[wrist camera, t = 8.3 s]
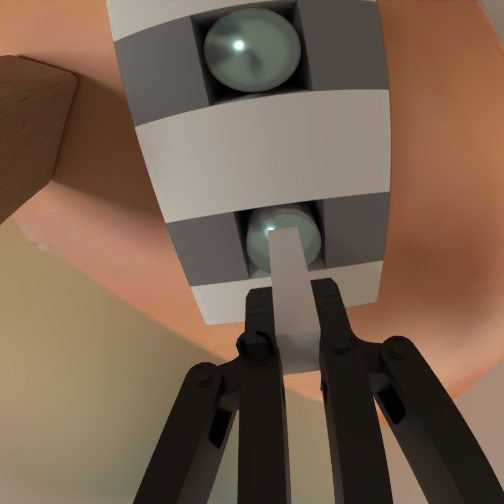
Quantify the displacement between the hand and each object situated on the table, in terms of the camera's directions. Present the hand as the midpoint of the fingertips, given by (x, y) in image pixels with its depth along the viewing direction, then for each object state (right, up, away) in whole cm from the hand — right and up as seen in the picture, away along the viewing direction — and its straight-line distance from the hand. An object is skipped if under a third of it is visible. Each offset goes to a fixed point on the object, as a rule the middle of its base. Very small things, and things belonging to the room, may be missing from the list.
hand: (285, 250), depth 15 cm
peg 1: (-2, +12, 0) cm, 12 cm away
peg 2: (0, +4, +6) cm, 7 cm away
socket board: (-1, +9, +3) cm, 9 cm away
